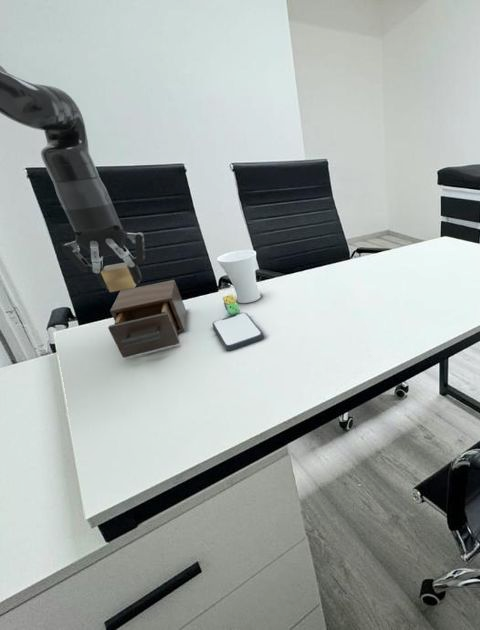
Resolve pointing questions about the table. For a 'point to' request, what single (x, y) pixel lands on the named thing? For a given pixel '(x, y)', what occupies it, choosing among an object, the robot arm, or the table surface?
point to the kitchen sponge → (231, 305)
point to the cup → (241, 273)
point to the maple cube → (118, 277)
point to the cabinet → (152, 300)
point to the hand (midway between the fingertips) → (123, 285)
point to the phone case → (237, 331)
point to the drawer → (145, 329)
